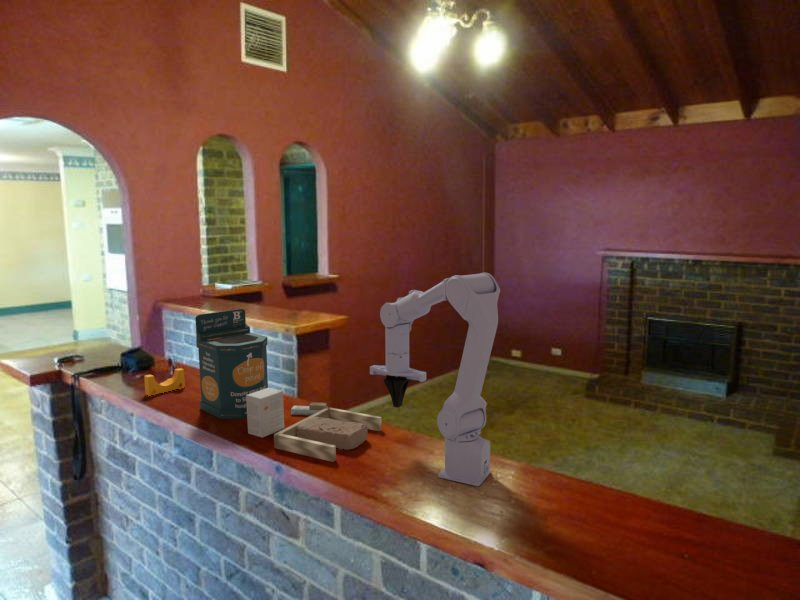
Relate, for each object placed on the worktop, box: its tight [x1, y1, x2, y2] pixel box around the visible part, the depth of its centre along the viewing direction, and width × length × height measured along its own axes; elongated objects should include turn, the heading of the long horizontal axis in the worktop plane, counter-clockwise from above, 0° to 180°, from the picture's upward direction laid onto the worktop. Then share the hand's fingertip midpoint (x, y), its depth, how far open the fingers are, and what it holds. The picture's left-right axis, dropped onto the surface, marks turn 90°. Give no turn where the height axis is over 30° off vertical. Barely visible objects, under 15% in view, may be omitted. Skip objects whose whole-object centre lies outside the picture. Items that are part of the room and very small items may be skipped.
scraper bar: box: [290, 402, 328, 416], centre depth 164 cm, size 10×3×3 cm, turn 84°
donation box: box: [194, 308, 269, 420], centre depth 166 cm, size 16×16×28 cm
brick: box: [297, 417, 368, 451], centre depth 144 cm, size 17×8×5 cm, turn 64°
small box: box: [246, 387, 285, 438], centre depth 150 cm, size 8×6×10 cm
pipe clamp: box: [143, 367, 186, 397], centre depth 185 cm, size 12×4×6 cm, turn 138°
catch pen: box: [273, 406, 383, 463], centre depth 145 cm, size 17×22×4 cm
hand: (397, 406), depth 140 cm, fingers closed
